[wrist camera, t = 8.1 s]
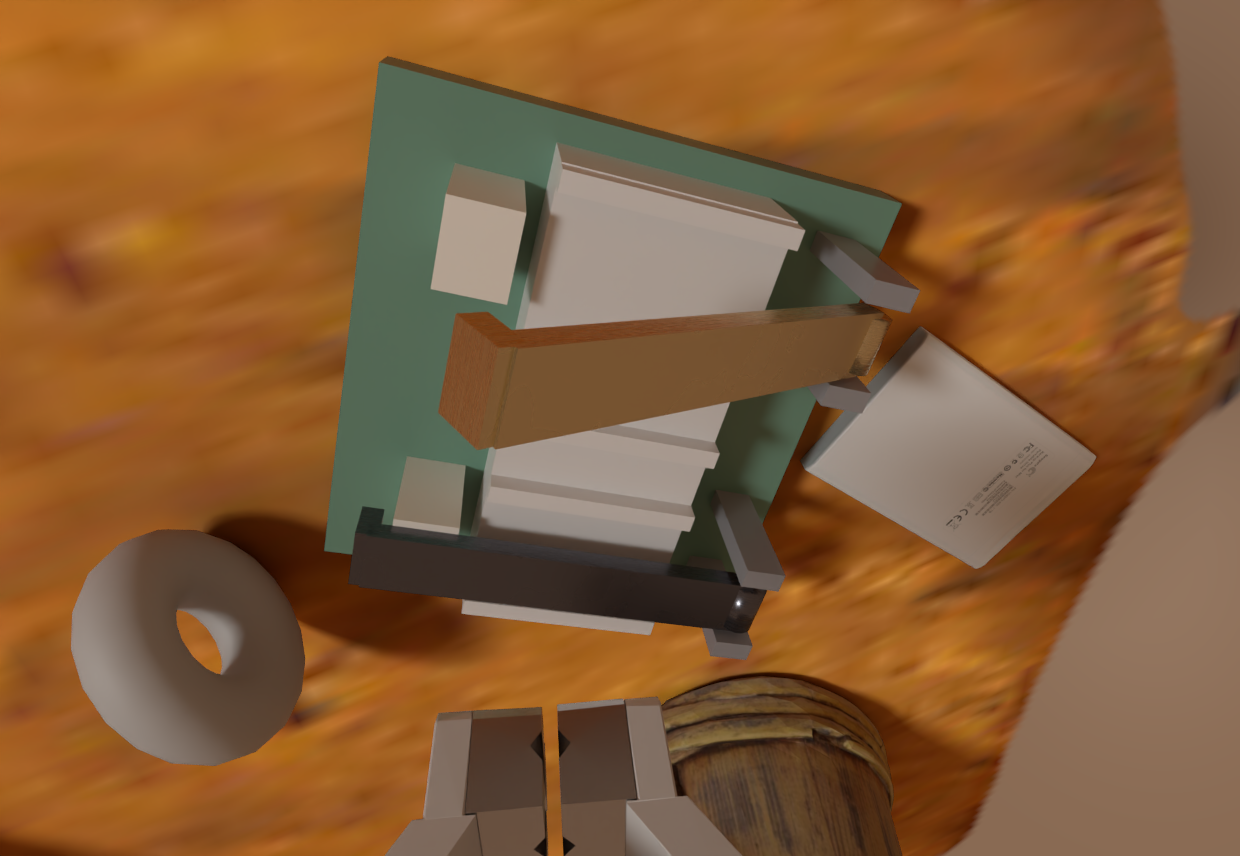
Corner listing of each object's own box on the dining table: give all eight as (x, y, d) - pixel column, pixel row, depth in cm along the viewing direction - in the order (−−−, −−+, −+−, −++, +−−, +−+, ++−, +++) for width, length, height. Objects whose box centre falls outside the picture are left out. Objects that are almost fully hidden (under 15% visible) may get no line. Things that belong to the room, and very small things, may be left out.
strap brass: (826, 352, 28) (872, 378, 27) (437, 412, 17) (487, 460, 16) (852, 291, 27) (902, 315, 26) (455, 313, 16) (510, 357, 15)
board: (718, 575, 40) (758, 690, 34) (333, 523, 36) (293, 644, 29) (880, 190, 31) (977, 248, 24) (387, 56, 26) (348, 82, 20)
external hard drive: (914, 320, 35) (1081, 442, 39) (795, 454, 38) (963, 554, 42) (931, 334, 33) (1102, 460, 38) (806, 473, 36) (978, 574, 41)
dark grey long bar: (739, 605, 34) (752, 638, 32) (355, 555, 30) (346, 591, 28) (759, 562, 33) (772, 595, 31) (362, 506, 29) (353, 539, 27)
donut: (341, 608, 38) (292, 791, 30) (287, 640, 39) (223, 829, 30) (178, 470, 33) (64, 642, 25) (120, 509, 34) (-12, 690, 25)
